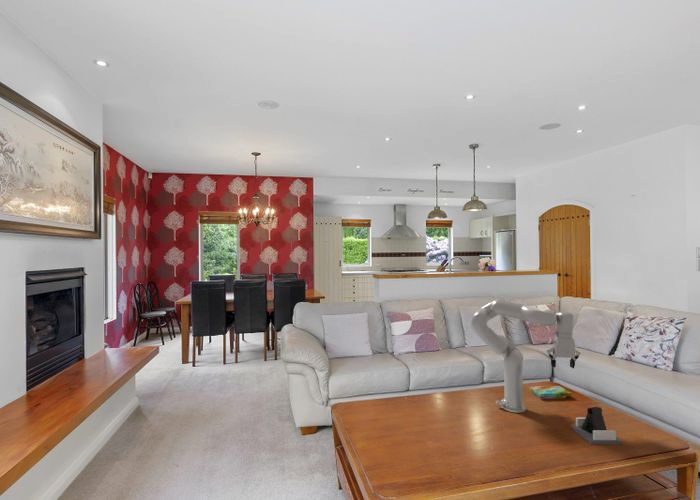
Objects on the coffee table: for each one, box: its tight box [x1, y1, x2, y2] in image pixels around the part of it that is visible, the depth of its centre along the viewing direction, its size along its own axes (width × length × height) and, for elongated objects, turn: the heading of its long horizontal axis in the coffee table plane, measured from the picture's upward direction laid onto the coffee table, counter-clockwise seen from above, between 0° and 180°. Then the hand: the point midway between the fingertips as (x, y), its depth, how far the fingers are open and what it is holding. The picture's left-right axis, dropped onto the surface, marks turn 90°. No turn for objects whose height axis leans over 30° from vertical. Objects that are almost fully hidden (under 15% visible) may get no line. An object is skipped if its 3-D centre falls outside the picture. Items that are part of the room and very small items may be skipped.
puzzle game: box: [528, 385, 573, 400], centre depth 230 cm, size 12×5×20 cm
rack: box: [570, 417, 622, 445], centre depth 181 cm, size 14×16×6 cm
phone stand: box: [582, 405, 607, 434], centre depth 181 cm, size 9×6×12 cm, turn 18°
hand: (562, 367), depth 201 cm, fingers open, 9 cm apart
